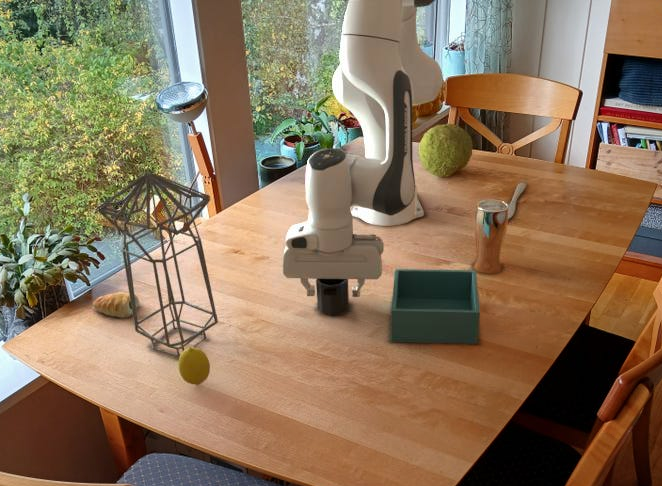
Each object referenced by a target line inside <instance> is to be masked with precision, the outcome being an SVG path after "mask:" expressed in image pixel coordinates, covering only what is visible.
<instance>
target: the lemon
mask: <svg viewBox="0 0 662 486" xmlns="http://www.w3.org/2000/svg"><path fill="white" fill-rule="evenodd" d="M177 363H178V364H177V365H178V366H177V367H178V372H179V375H180V377H181V379H182V380H183V381H184V382H186V383H187V384H190V385H197V386H198V385H200V384H203V383H204V382H205V381H206V380H207V379H208V377H209V376H210V372H211V365H210V364H211V363H210V360H209V358H208V356H207V354H206V352H205V351H204V350H202V349H201V348H198V347H193V346H191V347H187V348H185V349H184V351H183V350H182V352H181V353H180V357H178V362H177Z"/></svg>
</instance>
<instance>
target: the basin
mask: <svg viewBox="0 0 662 486" xmlns="http://www.w3.org/2000/svg"><path fill="white" fill-rule="evenodd" d="M393 274H394V275H393V287H392V297H391V298H392V299H391V309H390V314H391V315H390V342H391V343H392V342H395V343H396V342H397V343H424V344H425V343H427V344H428V343H429V344H430V343H431V344H461V345H462V344H466V345H469V344H470V345H473V344H474V345H477V344H478V339H479V330H480V329H479V328H480V316H481V310H480V309H481V308H480V298H479V289H478V288H479V287H478V279H477V271H476V270H475V269H474V270H473V269H472V270H471V269H469V270H467V269H414V268H413V269H409V268H408V269H407V268H394V273H393Z"/></svg>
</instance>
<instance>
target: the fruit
mask: <svg viewBox="0 0 662 486" xmlns="http://www.w3.org/2000/svg"><path fill="white" fill-rule="evenodd" d="M473 148H474V147H473V140H472V137H471V136H470V134H469V133H468V132H466V130H465V129H464V128H462V127H460V125H457V124H453V123H444V124H443V123H442V124H437V125H436V126H434V127H431V128H430V129H428V130H427V131H426V132H424V134H423V136H422V138H421V140H420V143H419V146H418V157H419V161H420V162H421V164H422V165H423V168H424V169H425V170H426V171H428V173H429V174H431V175H434V176H437V177H439V178H444V177H452V175H454V174H455V172H457V171H461V170H462V169H464V168H466V167H467V166H468V164H469V162H470V160H471V158H472V156H473Z"/></svg>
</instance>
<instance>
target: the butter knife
mask: <svg viewBox="0 0 662 486" xmlns="http://www.w3.org/2000/svg"><path fill="white" fill-rule="evenodd" d="M526 187H527V184H526V183H525V182H520V183H518V184H517V186H516V188H515V190H514V193H513V196H512V198H511V200H510V202H509V203H508V220H509V219H511V218H512V217H513V216H514V214H515V211H516V204H517V199H519V197H520V195H522V193H523V192H524V190H526Z"/></svg>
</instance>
